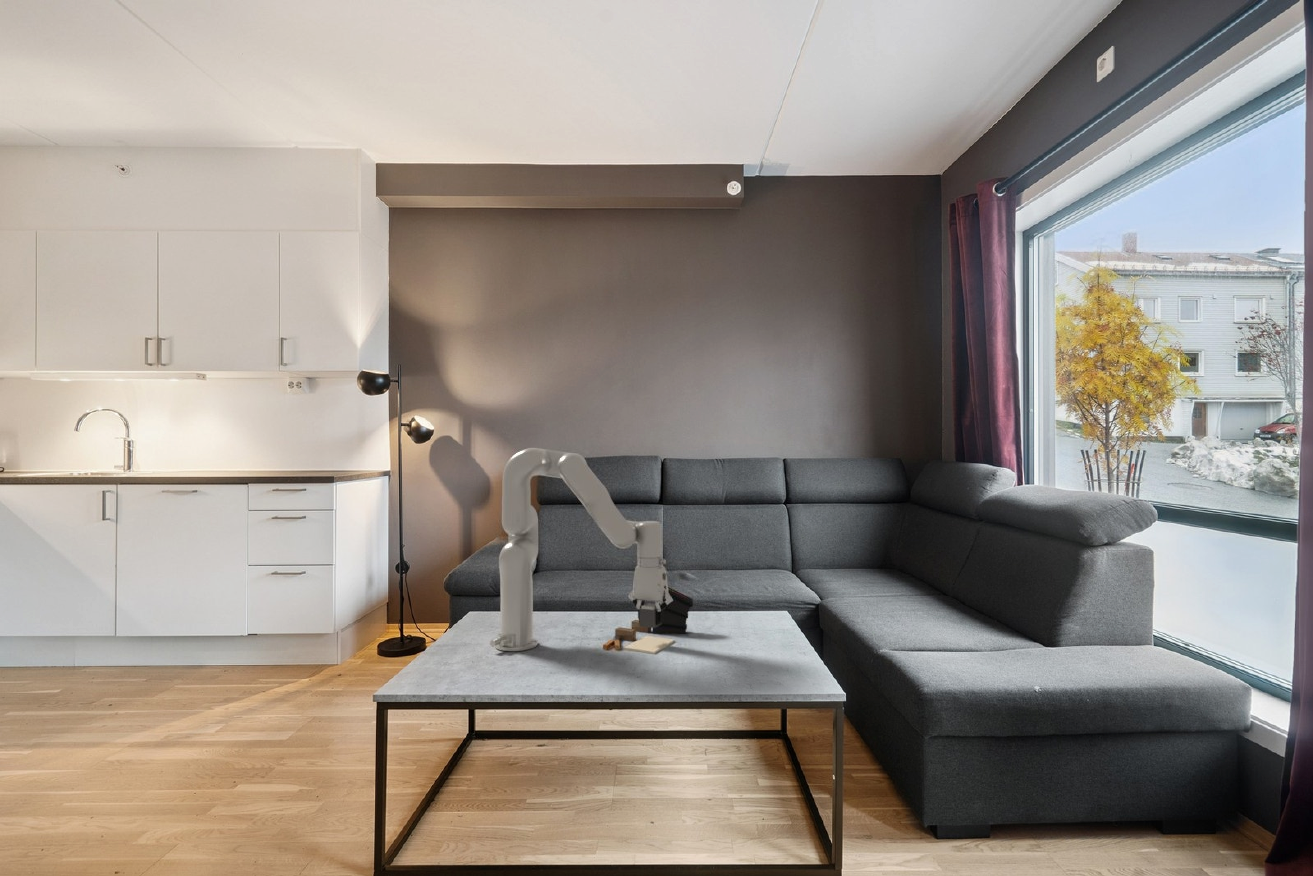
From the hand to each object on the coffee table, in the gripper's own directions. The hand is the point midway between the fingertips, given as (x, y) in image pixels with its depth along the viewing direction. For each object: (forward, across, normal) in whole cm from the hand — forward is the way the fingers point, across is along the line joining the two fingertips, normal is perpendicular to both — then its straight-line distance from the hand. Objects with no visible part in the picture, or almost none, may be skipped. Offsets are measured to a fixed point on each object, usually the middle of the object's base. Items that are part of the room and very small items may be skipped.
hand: (650, 622), depth 196 cm
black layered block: (+7, 0, -16) cm, 17 cm away
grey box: (+1, 0, 0) cm, 1 cm away
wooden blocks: (+7, +10, -8) cm, 15 cm away
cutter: (+7, +10, +4) cm, 13 cm away
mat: (+7, 0, 0) cm, 7 cm away
